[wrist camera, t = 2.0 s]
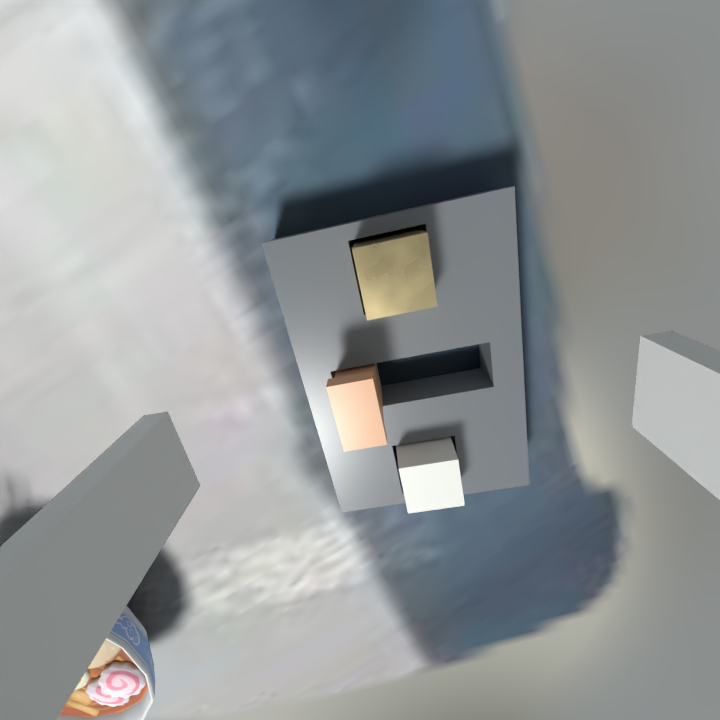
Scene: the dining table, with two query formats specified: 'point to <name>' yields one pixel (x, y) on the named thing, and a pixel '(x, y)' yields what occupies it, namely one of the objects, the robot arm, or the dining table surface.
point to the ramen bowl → (116, 677)
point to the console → (415, 343)
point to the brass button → (395, 273)
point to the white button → (430, 475)
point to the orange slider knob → (358, 407)
